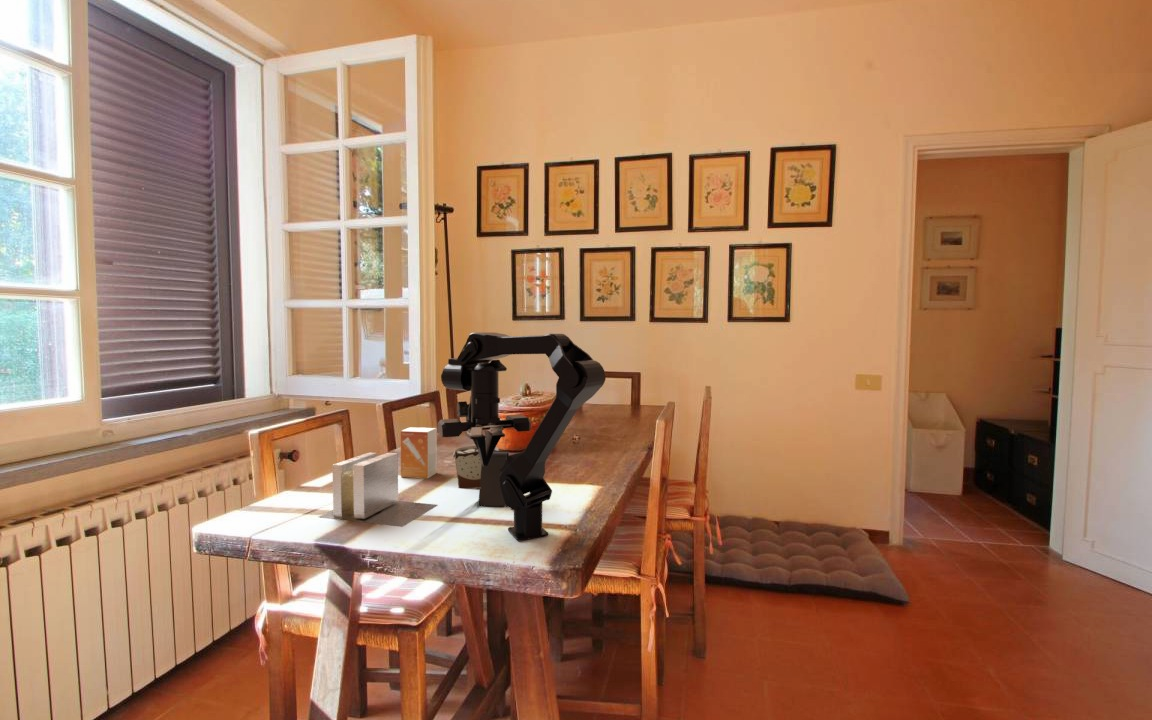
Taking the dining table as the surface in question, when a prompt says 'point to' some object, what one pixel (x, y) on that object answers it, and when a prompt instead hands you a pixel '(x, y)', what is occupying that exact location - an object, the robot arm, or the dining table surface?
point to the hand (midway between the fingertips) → (485, 465)
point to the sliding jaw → (375, 484)
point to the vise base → (390, 515)
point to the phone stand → (492, 481)
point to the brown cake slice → (468, 467)
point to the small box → (418, 452)
